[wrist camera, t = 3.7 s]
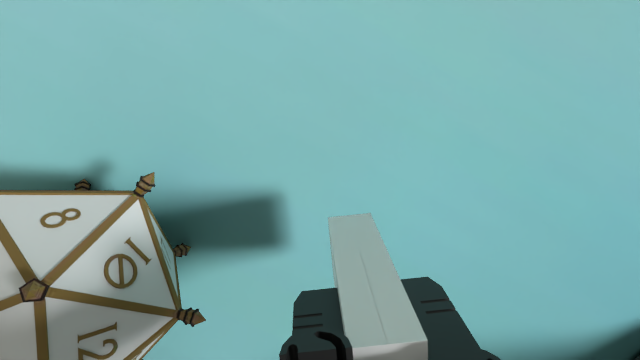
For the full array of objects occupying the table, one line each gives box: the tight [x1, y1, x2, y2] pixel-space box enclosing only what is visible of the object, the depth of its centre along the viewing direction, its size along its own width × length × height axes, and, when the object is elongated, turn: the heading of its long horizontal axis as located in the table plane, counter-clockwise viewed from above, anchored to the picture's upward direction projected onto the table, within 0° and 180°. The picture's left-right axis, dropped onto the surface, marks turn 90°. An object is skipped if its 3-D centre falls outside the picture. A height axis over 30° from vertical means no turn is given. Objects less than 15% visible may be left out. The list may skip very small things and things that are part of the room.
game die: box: [0, 172, 206, 360], centre depth 13 cm, size 9×8×10 cm
